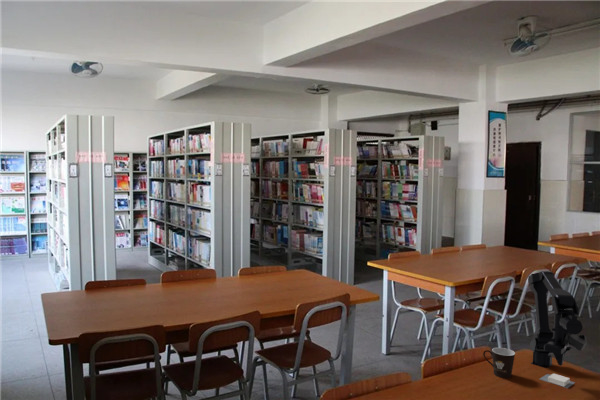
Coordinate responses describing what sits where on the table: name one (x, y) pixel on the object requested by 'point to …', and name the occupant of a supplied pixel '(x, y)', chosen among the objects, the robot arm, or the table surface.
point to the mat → (545, 378)
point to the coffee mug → (502, 361)
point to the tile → (558, 380)
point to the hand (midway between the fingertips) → (560, 365)
